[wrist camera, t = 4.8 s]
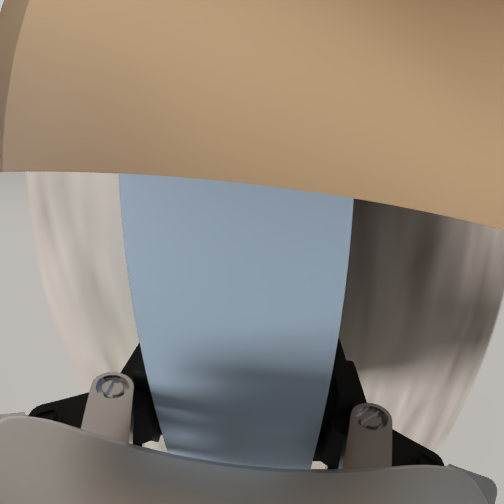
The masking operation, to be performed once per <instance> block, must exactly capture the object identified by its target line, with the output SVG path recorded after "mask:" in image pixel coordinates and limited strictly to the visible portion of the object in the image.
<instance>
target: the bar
mask: <svg viewBox="0 0 504 504" xmlns="http://www.w3.org/2000/svg"><path fill="white" fill-rule="evenodd" d="M119 188H120V203H121V216H122V227H123V237H124V246H125V255H126V263H127V270H128V278H129V285H130V291H131V298H132V304H133V310H134V316H135V321H136V327H137V332H138V337H139V342H140V347H141V352H142V357H143V361H144V366H145V370H146V374H147V379H148V383H149V387H150V391H151V395H152V399H153V403H154V407H155V410H156V414H157V418H158V421H159V425H160V428H161V431H162V435H163V438H164V442H165V445H166V448H167V451H168V453H171V454H176V455H181V456H186V457H191V458H197V459H203V460H209V461H215V462H222V463H230V464H238V465H247V466H257V467H270V468H286V469H310V468H311V465H312V461H313V457H314V453H315V449H316V445H317V441H318V437H319V433H320V429H321V424H322V420H323V415H324V411H325V406H326V401H327V397H328V392H329V387H330V382H331V376H332V371H333V366H334V360H335V354H336V348H337V342H338V336H339V330H340V323H341V317H342V310H343V302H344V295H345V287H346V279H347V270H348V261H349V251H350V240H351V229H352V216H353V202H354V198H348V197H342V196H336V195H329V194H322V193H316V192H309V191H302V190H294V189H287V188H279V187H271V186H263V185H255V184H246V183H237V182H227V181H217V180H207V179H195V178H183V177H171V176H156V175H140V174H122V173H119Z"/></svg>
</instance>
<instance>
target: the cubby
mask: <svg viewBox="0 0 504 504" xmlns="http://www.w3.org/2000/svg"><path fill="white" fill-rule="evenodd" d="M22 171H56V172H98V173H122V174H140V175H156V176H171V177H183V178H195V179H207V180H217V181H227V182H237V183H246V184H255V185H263V186H271V187H279V188H287V189H294V190H302V191H309V192H316V193H322V194H329V195H336V196H342V197H348V198H354V199H360V200H366V201H372V202H377V203H383V204H388V205H394V206H399V207H404V208H409V209H414V210H419V211H424V212H429V213H434V214H439V215H443V216H448V217H452V218H457V219H461V220H466V221H470V222H474V223H478V224H482V225H487V226H491V227H495V228H498V229H502V230H504V0H4V3H3V5H2V8H1V12H0V172H22Z"/></svg>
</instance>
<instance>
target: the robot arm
mask: <svg viewBox="0 0 504 504" xmlns="http://www.w3.org/2000/svg"><path fill="white" fill-rule="evenodd" d="M161 435H162V431H161V428H160V425H159V421H158V418H157V414H156V410H155V407H154V403H153V399H152V395H151V391H150V387H149V383H148V379H147V374H146V370H145V366H144V361H143V357H142V352H141V347H140V343H139V344H138V346H137V347H136V349H135V351H134V352H133V354H132V355H131V357H130V359H129V360H128V362H127V363H126V365H125V367H124V368H123V370H122V372H121V373H117V372H108V373H104V374H101V375H99V376H97V377H96V378H95V379H94V380H93V382H92V384H91V388H90V392H89V393H85V394H81V395H78V396H74V397H70V398H66V399H63V400H59V401H55V402H51V403H47V404H42V405H40V406H37V407H36V408H35V409H33V410H32V411H31V412H30V414H29V415H25V413H24V412H20V413H11V414H2V415H0V504H495V500H496V495H497V487H496V485H495V483H494V482H493V481H492V480H491V479H489V478H487V477H484V476H481V475H478V474H476V473H472V472H470V471H467V470H464V469H462V468H458V467H456V466H453V465H451V464H449V465H448V466H444V463H443V461H442V459H441V458H440V457H439V455H437V454H436V453H434V452H433V451H431V450H429V449H427V448H425V447H423V446H422V445H420V444H418V443H416V442H414V441H412V440H411V439H409V438H407V437H405V436H403V435H402V434H400V433H398V432H396V431H395V430H393V429H392V418H391V415H390V414H389V412H388V411H387V410H386V409H385V408H383V407H381V406H379V405H377V404H373V403H367V402H366V399H365V396H364V392H363V389H362V386H361V383H360V380H359V377H358V374H357V371H356V368H355V365H354V363H353V361H346V358H345V355H344V352H343V349H342V346H341V343H340V339H339V336H338V342H337V348H336V354H335V360H334V366H333V371H332V376H331V382H330V387H329V392H328V397H327V401H326V406H325V411H324V415H323V420H322V424H321V429H320V433H319V437H318V441H317V445H316V449H315V453H314V457H313V461H321V462H323V463H324V464H325V465H326V467H325V469H286V468H270V467H257V466H247V465H238V464H230V463H222V462H215V461H209V460H203V459H197V458H191V457H186V456H181V455H176V454H171V453H166V452H162V451H157V450H153V449H149V448H145V447H144V443H146V442H148V441H155V442H158V441H159V438H160V436H161Z"/></svg>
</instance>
